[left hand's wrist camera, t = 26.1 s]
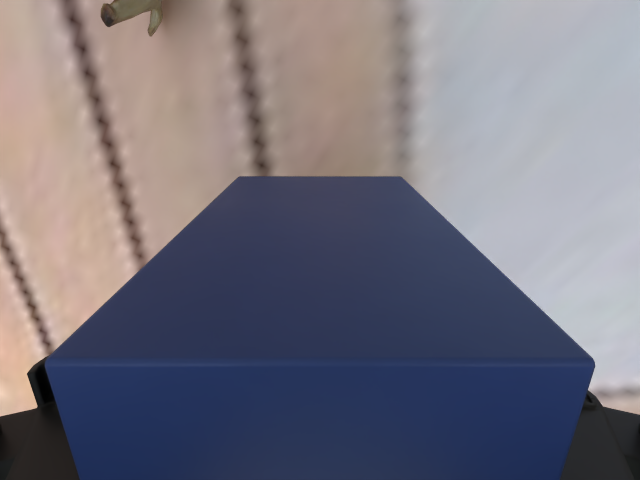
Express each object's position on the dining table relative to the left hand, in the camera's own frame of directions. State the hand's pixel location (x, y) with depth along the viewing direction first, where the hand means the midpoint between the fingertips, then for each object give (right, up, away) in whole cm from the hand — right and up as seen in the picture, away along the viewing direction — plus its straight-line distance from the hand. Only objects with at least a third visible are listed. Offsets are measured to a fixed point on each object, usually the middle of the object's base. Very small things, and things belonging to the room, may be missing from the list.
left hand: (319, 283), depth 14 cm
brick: (0, +1, +3) cm, 3 cm away
